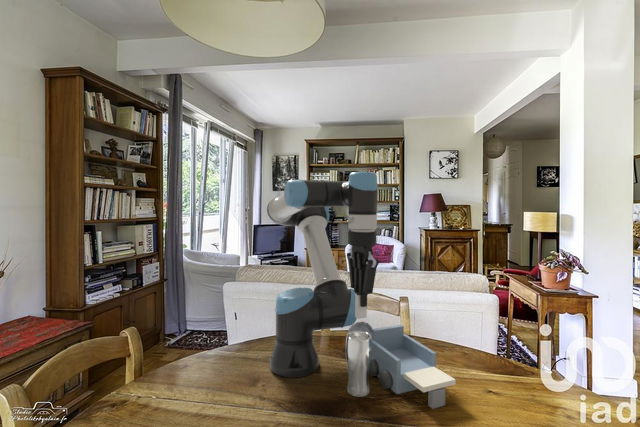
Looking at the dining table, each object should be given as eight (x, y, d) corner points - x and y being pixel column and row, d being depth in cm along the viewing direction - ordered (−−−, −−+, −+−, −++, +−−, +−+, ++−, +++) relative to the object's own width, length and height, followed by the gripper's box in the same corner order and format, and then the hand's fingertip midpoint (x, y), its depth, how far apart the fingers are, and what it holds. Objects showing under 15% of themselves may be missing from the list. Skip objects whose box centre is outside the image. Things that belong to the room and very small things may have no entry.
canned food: (373, 360, 117) (387, 338, 115) (358, 368, 109) (372, 344, 107) (350, 338, 123) (363, 316, 121) (335, 343, 116) (347, 321, 113)
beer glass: (370, 399, 85) (371, 342, 85) (343, 396, 87) (344, 339, 86) (371, 385, 92) (372, 331, 92) (346, 382, 93) (347, 329, 93)
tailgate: (403, 373, 87) (423, 387, 80) (433, 366, 91) (455, 379, 84) (403, 378, 87) (423, 393, 80) (433, 371, 91) (455, 385, 83)
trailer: (363, 369, 101) (363, 330, 101) (407, 360, 107) (408, 323, 107) (411, 414, 79) (412, 365, 79) (463, 400, 85) (464, 354, 85)
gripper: (338, 228, 93) (337, 311, 94) (362, 233, 81) (361, 328, 82) (361, 227, 96) (360, 308, 97) (388, 232, 84) (386, 323, 85)
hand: (360, 317), depth 89 cm, fingers closed
